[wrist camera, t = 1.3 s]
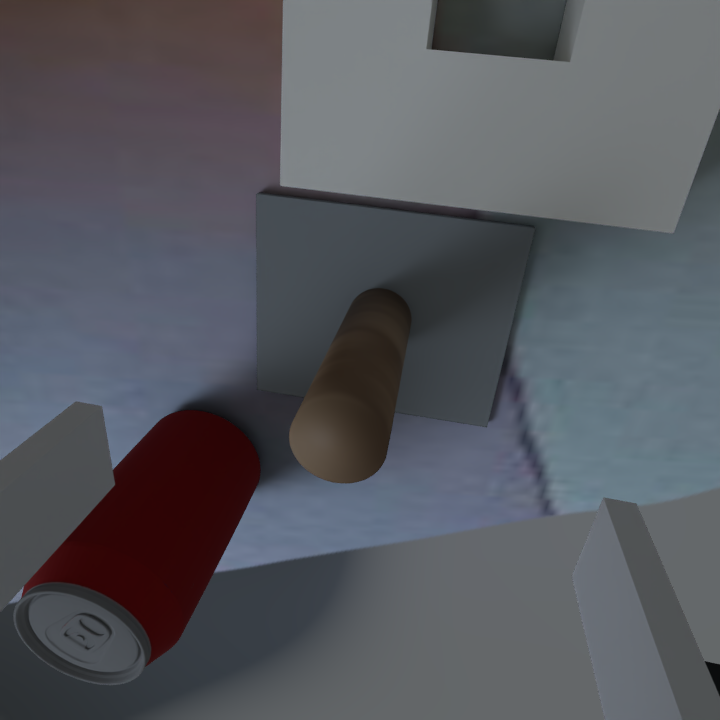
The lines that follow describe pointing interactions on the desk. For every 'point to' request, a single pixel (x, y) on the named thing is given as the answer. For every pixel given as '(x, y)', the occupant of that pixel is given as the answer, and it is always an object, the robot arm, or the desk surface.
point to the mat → (396, 273)
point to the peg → (355, 392)
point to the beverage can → (141, 552)
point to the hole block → (503, 110)
